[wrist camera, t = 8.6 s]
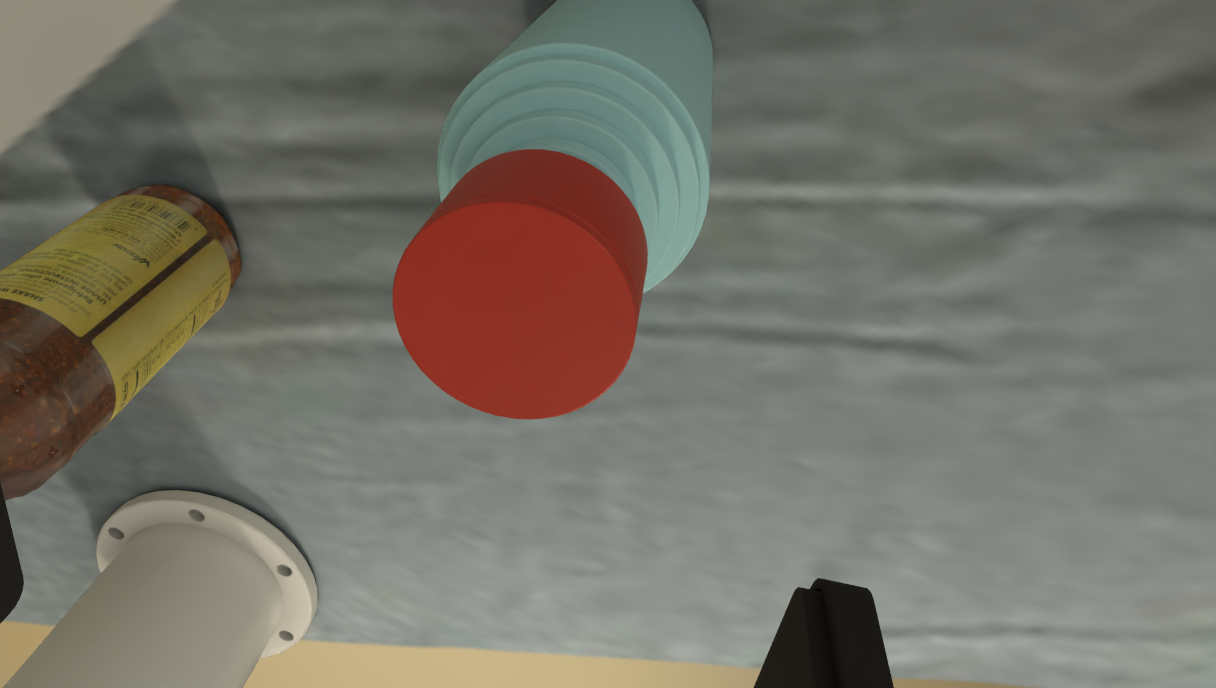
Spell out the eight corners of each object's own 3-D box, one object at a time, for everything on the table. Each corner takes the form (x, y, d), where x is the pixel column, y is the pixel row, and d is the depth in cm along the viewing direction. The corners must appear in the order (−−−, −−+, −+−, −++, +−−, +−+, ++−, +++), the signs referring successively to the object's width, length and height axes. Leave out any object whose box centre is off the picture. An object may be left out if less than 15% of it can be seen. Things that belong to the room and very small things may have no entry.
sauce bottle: (86, 208, 37) (-438, 508, 20) (191, 155, 36) (-290, 437, 19) (179, 327, 40) (-215, 678, 23) (281, 284, 38) (-66, 632, 21)
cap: (448, 125, 16) (399, 175, 13) (670, 176, 16) (661, 234, 13) (429, 318, 18) (385, 390, 16) (624, 362, 18) (609, 442, 16)
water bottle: (690, 164, 33) (661, 481, 17) (528, 129, 33) (336, 410, 17) (733, -11, 30) (750, 166, 13) (552, -50, 30) (342, 78, 13)
